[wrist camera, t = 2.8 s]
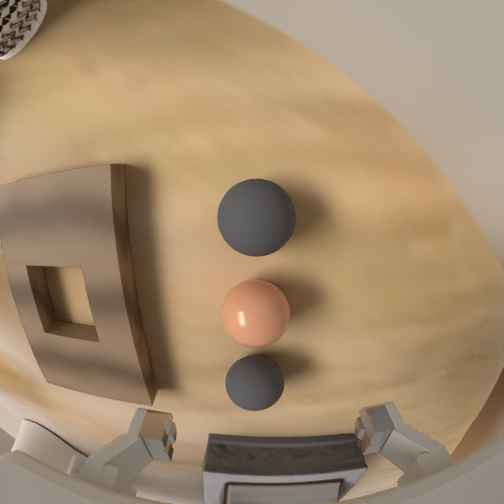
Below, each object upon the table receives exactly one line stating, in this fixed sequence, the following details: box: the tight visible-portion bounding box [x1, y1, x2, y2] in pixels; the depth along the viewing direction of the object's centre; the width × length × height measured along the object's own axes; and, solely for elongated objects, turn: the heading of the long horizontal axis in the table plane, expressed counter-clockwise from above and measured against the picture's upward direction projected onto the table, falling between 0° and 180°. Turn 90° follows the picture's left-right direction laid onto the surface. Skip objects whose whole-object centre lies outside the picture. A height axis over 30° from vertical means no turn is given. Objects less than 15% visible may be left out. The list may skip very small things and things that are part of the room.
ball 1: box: [218, 179, 295, 256], centre depth 18 cm, size 5×5×5 cm
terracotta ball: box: [221, 280, 290, 348], centre depth 20 cm, size 5×5×5 cm
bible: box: [202, 434, 368, 504], centre depth 27 cm, size 23×27×10 cm
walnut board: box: [0, 164, 158, 406], centre depth 21 cm, size 22×14×2 cm, turn 0°
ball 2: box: [226, 355, 284, 411], centre depth 22 cm, size 5×5×5 cm
